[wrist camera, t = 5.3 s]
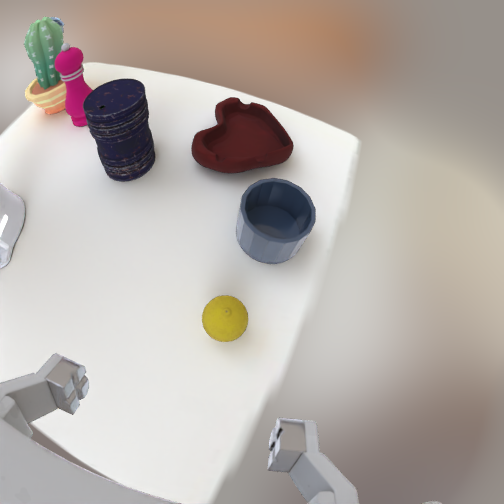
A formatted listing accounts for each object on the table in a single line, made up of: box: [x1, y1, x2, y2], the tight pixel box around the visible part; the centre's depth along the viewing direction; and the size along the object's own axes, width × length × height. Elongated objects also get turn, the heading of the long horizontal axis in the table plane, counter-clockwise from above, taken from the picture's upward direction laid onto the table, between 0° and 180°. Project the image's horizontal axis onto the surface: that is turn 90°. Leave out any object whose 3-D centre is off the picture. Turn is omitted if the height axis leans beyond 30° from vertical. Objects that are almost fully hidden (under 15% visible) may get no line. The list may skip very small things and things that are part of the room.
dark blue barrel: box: [83, 79, 155, 182], centre depth 41 cm, size 10×10×15 cm
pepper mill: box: [55, 43, 93, 127], centre depth 42 cm, size 7×7×20 cm
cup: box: [236, 178, 315, 264], centre depth 42 cm, size 10×10×7 cm
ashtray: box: [192, 97, 293, 173], centre depth 49 cm, size 18×16×5 cm
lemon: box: [202, 295, 248, 342], centre depth 35 cm, size 6×6×8 cm
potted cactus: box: [24, 17, 66, 114], centre depth 42 cm, size 15×15×25 cm
